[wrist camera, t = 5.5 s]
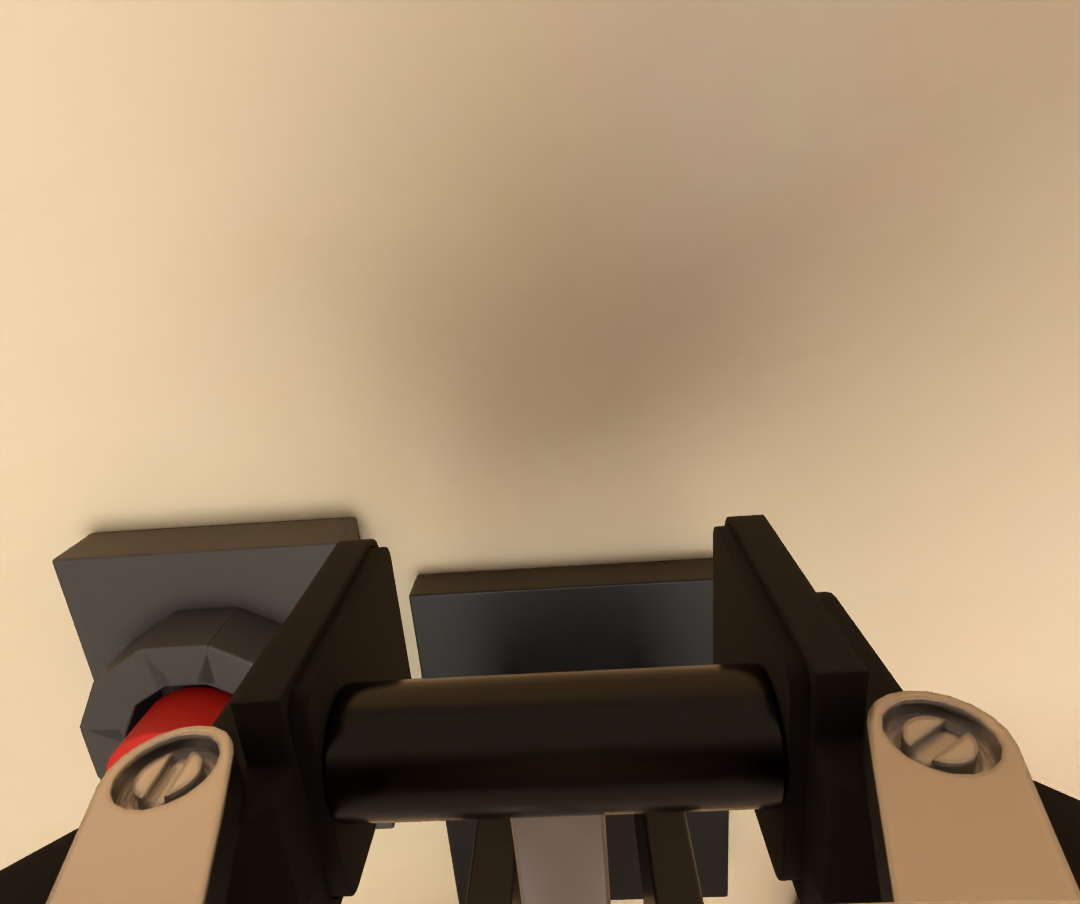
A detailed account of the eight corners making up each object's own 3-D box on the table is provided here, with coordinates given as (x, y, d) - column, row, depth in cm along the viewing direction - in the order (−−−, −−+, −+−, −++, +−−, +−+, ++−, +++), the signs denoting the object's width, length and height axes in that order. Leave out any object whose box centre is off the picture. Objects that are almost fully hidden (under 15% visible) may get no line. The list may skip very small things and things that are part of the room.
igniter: (90, 532, 20) (-1, 595, 17) (356, 516, 20) (315, 577, 17) (175, 795, 24) (113, 890, 20) (405, 786, 23) (380, 882, 20)
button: (128, 688, 18) (85, 736, 17) (260, 682, 18) (230, 729, 16) (163, 793, 20) (127, 848, 18) (288, 789, 19) (262, 843, 18)
